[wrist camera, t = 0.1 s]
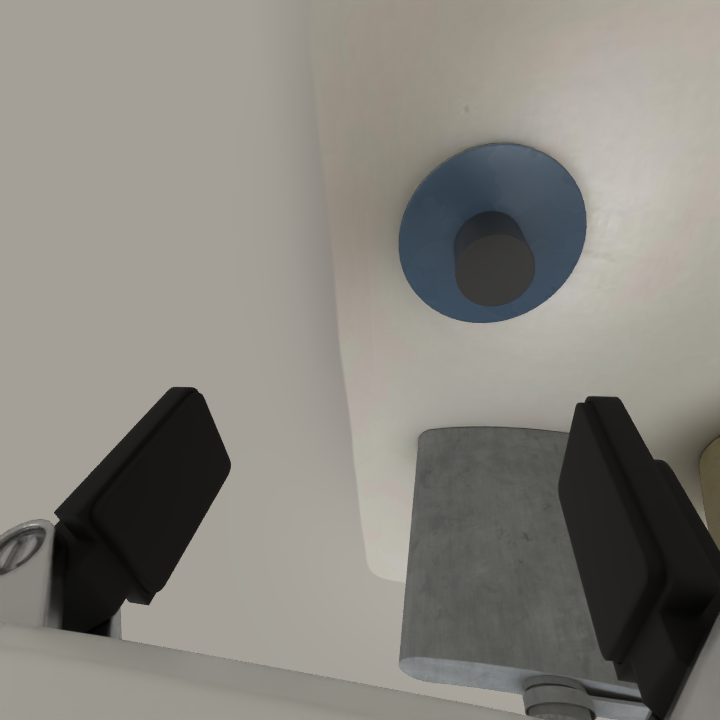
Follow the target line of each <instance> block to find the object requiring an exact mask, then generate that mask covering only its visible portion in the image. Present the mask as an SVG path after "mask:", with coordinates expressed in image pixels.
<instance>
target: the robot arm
mask: <svg viewBox="0 0 720 720" xmlns="http://www.w3.org/2000/svg"><path fill="white" fill-rule="evenodd" d="M230 469H231V462H230V459H229V456H228V454H227V452H226V449H225V447H224V444H223V442H222V440H221V437H220V435H219V432H218V430H217V428H216V425H215V423H214V420H213V418H212V416H211V413H210V411H209V409H208V406H207V404H206V401H205V399H204V397H203V395H202V394H200V393H199V392H198V391H197V389H195V388H192V387H173V388H171V389H169V390H168V391H167V392H166V394H164V395H163V396H162V398H161V399H160V400H159V401H158V402H157V403H156V404H155V405H154V406H153V407H152V408H151V409H150V410H149V411H148V413H147V414H146V415H145V416H144V417H143V418H142V419H141V420H140V421H139V422H138V423H137V424H136V425H135V426H134V427H133V429H132V430H131V431H130V432H129V433H128V434H127V435H126V436H125V437H124V438H123V439H122V440H121V441H120V442H119V444H118V445H117V446H116V447H115V448H114V449H113V450H112V451H111V452H110V453H109V454H108V455H107V456H106V458H104V459H103V461H102V462H101V463H100V464H99V465H98V466H97V467H96V468H95V469H94V470H93V471H92V472H91V473H90V475H88V477H87V478H86V479H85V480H84V481H83V482H82V483H81V484H80V485H79V486H78V487H77V488H76V489H75V490H74V492H73V493H72V494H71V495H70V496H69V497H68V498H67V499H66V500H65V501H64V502H63V503H62V504H61V505H60V506H59V508H58V509H57V510H56V511H55V512H54V513H55V514H56V515H57V517H58V518H59V519H60V521H59V522H58V523H57V524H56V525H55V526H54V525H53V524H52V523H51V522H50V521H48V520H44V519H37V520H31V521H27V522H25V523H21V524H19V525H17V526H15V527H13V528H12V529H9V530H8V531H6V532H5V533H4V534H2V535H0V720H545V719H541V718H536V717H531V716H526V715H521V714H516V713H512V712H507V711H502V710H497V709H492V708H487V707H483V706H477V705H472V704H467V703H462V702H457V701H451V700H446V699H440V698H435V697H430V696H425V695H419V694H414V693H409V692H404V691H399V690H393V689H388V688H383V687H377V686H372V685H367V684H361V683H356V682H351V681H345V680H340V679H335V678H330V677H324V676H319V675H313V674H308V673H303V672H297V671H292V670H286V669H281V668H275V667H270V666H265V665H259V664H253V663H247V662H243V661H237V660H232V659H226V658H220V657H216V656H210V655H205V654H199V653H194V652H188V651H182V650H176V649H171V648H165V647H160V646H154V645H149V644H143V643H138V642H131V641H126V640H122V638H121V611H120V607H121V605H122V604H123V602H124V600H125V599H127V600H128V601H129V602H131V603H137V604H144V605H149V604H150V602H151V601H152V599H153V597H154V596H155V594H156V592H159V591H160V590H161V589H162V588H163V587H164V586H165V584H166V582H167V581H168V579H169V577H170V576H171V574H172V572H173V571H174V569H175V567H176V565H177V564H178V562H179V560H180V558H181V557H182V555H183V553H184V551H185V550H186V548H187V546H188V544H189V543H190V541H191V539H192V537H193V536H194V534H195V532H196V530H197V529H198V527H199V525H200V523H201V522H202V520H203V518H204V517H205V515H206V513H207V511H208V510H209V508H210V506H211V504H212V502H213V501H214V499H215V497H216V496H217V494H218V492H219V490H220V489H221V487H222V485H223V483H224V482H225V480H226V478H227V476H228V475H229V472H230ZM558 495H559V500H560V504H561V507H562V511H563V515H564V519H565V522H566V526H567V530H568V533H569V537H570V541H571V545H572V548H573V552H574V556H575V559H576V563H577V567H578V571H579V574H580V578H581V582H582V586H583V589H584V593H585V597H586V600H587V604H588V608H589V612H590V615H591V619H592V623H593V626H594V630H595V634H596V638H597V641H598V645H599V649H600V652H601V654H602V656H603V658H604V659H605V660H606V661H613V665H614V668H615V672H616V675H617V679H618V680H619V681H625V682H631V683H637V685H638V688H639V691H640V694H641V697H642V701H643V703H644V704H645V705H646V706H647V707H648V708H649V709H650V710H649V712H648V714H647V716H646V718H645V720H720V551H719V549H718V547H717V545H716V544H715V542H714V540H713V539H712V537H711V535H710V534H709V532H708V530H707V528H706V527H705V525H704V523H703V522H702V520H701V518H700V516H699V515H698V513H697V511H696V510H695V508H694V506H693V505H692V503H691V501H690V499H689V498H688V496H687V494H686V493H685V491H684V489H683V488H682V486H681V484H680V482H679V481H678V479H677V477H676V476H675V474H674V472H673V470H672V469H671V468H670V466H669V465H668V464H667V463H666V462H664V461H663V460H654V459H653V457H652V456H651V454H650V452H649V450H648V448H647V447H646V445H645V443H644V441H643V439H642V437H641V436H640V434H639V432H638V430H637V428H636V427H635V425H634V423H633V421H632V419H631V418H630V416H629V414H628V412H627V410H626V409H625V407H624V405H623V403H622V401H621V400H620V399H619V398H618V397H599V396H589V397H587V398H586V400H585V403H577V405H576V408H575V412H574V417H573V421H572V425H571V430H570V434H569V438H568V443H567V447H566V451H565V456H564V460H563V464H562V469H561V473H560V477H559V482H558Z"/></svg>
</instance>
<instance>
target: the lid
mask: <svg viewBox="0 0 720 720" xmlns="http://www.w3.org/2000/svg"><path fill="white" fill-rule="evenodd" d="M586 227H587V226H586V210H585V205H584V201H583V198H582V195H581V192H580V190H579V188H578V186H577V184H576V182H575V180H574V179H573V178H572V176H571V175H570V174H569V173H568V171H567V170H566V169H565V168H564V167H563V166H562V165H561V164H560V163H558V162H557V161H556V160H555V159H553V158H551V157H550V156H548V155H547V154H545V153H543V152H541V151H539V150H537V149H534V148H532V147H528V146H524V145H520V144H513V143H492V144H486V145H480V146H477V147H473V148H470V149H467V150H465V151H462V152H460V153H458V154H456V155H454V156H452V157H451V158H449V159H447V160H446V161H444V162H443V163H441V164H440V165H439V166H438V167H436V168H435V169H434V170H433V171H432V172H431V173H430V174H429V175H428V176H427V177H426V178H425V179H424V180H423V181H422V182H421V184H420V185H419V187H418V188H417V189H416V191H415V192H414V194H413V196H412V197H411V199H410V201H409V203H408V205H407V208H406V210H405V213H404V215H403V219H402V223H401V226H400V234H399V254H400V261H401V264H402V268H403V271H404V274H405V276H406V278H407V280H408V282H409V284H410V285H411V287H412V289H413V290H414V291H415V293H416V294H417V295H418V296H419V297H420V298H421V299H422V300H423V301H424V302H425V303H426V304H427V305H429V306H430V307H431V308H433V309H434V310H436V311H438V312H440V313H441V314H443V315H446V316H448V317H451V318H453V319H457V320H461V321H466V322H473V323H489V322H498V321H503V320H507V319H511V318H514V317H517V316H519V315H522V314H524V313H527V312H528V311H530V310H532V309H534V308H536V307H537V306H539V305H540V304H542V303H543V302H545V301H546V300H547V299H548V298H550V297H551V296H552V295H553V294H554V293H555V292H556V291H557V290H558V289H559V288H560V287H561V286H562V285H563V284H564V282H565V281H566V280H567V278H568V277H569V276H570V274H571V273H572V271H573V269H574V267H575V266H576V264H577V262H578V259H579V257H580V254H581V252H582V249H583V245H584V241H585V235H586Z"/></svg>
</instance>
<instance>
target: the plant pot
mask: <svg viewBox="0 0 720 720" xmlns="http://www.w3.org/2000/svg"><path fill="white" fill-rule="evenodd" d="M699 472H700V481H701V489H702V497H703V504H704V510H705V516H706V521H707V526H708V531H709V534H710V535H711V537H712V539H713V540H714V542H715V544H716V545H717V547H718V549H719V551H720V437H719V438H717V439H716V440H714V441H713V442H712V443H711V444H710V445H709V446H708V447H707V448H706V449H705V451H704V452H703V454H702V456H701V458H700V462H699Z"/></svg>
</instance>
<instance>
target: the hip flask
mask: <svg viewBox="0 0 720 720" xmlns="http://www.w3.org/2000/svg"><path fill="white" fill-rule="evenodd" d="M568 438H569V434H568V433H560V432H553V431H544V430H533V429H520V428H501V427H462V428H445V429H434V430H428V431H426V432H424V433H422V434H421V436H420V437H419V441H418V452H417V464H416V475H415V486H414V498H413V509H412V520H411V532H410V543H409V554H408V566H407V577H406V588H405V601H404V611H403V623H402V634H401V646H400V657H399V667H400V669H401V670H402V671H403V672H404V673H406V674H407V675H409V676H411V677H413V678H415V679H418V680H422V681H426V682H432V683H441V684H451V685H459V686H467V687H476V688H483V689H489V690H497V691H503V692H510V693H516V694H521V695H523V701H524V705H525V713H526V715H527V716H531V717H536V718H541V719H545V720H595V719H596V717H603V718H610V719H617V720H645V718H646V716H647V714H648V712H649V710H650V709H649V708H648V707H647V706H646V705H645V704H644V703H643V701H642V697H641V694H640V691H639V688H638V685H637V683H631V682H625V681H619V680H618V679H617V675H616V672H615V668H614V665H613V661H606V660H605V659H604V658H603V656H602V654H601V652H600V649H599V645H598V641H597V638H596V634H595V630H594V626H593V623H592V619H591V615H590V612H589V608H588V604H587V600H586V597H585V593H584V589H583V586H582V582H581V578H580V574H579V571H578V567H577V563H576V559H575V556H574V552H573V548H572V545H571V541H570V537H569V533H568V530H567V526H566V522H565V519H564V515H563V511H562V507H561V504H560V500H559V495H558V482H559V477H560V473H561V469H562V464H563V460H564V456H565V451H566V447H567V443H568Z"/></svg>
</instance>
